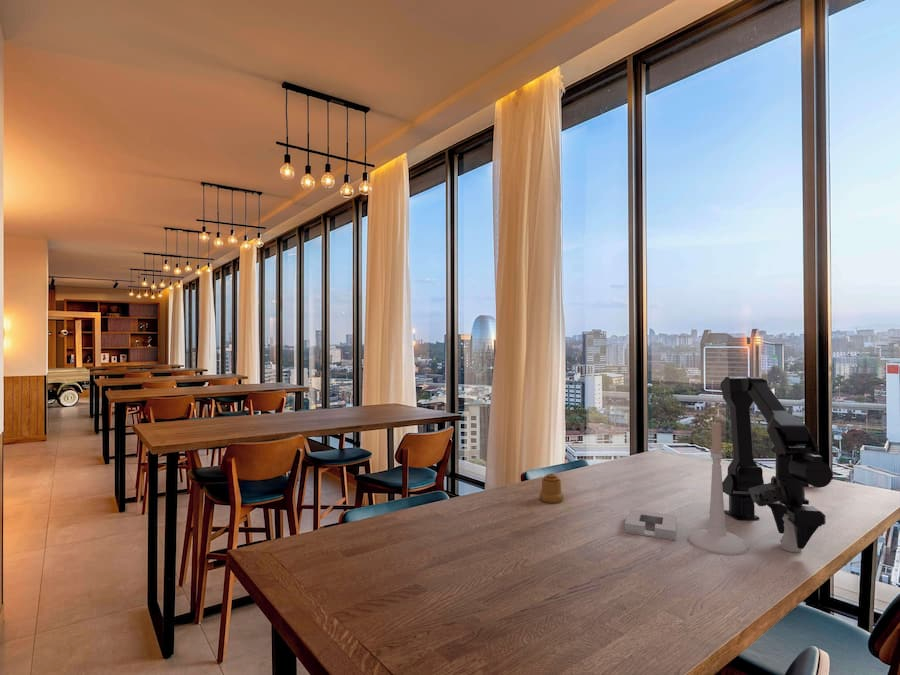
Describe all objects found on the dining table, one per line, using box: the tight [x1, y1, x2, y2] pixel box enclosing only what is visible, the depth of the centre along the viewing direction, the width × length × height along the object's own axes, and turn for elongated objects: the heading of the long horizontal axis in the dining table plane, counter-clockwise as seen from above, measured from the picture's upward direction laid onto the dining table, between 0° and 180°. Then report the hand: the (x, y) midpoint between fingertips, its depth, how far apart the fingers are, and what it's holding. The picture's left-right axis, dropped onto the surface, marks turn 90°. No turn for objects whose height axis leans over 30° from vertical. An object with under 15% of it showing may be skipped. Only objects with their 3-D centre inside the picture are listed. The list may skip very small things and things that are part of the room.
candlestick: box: [687, 421, 749, 556], centre depth 120 cm, size 13×13×30 cm
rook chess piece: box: [779, 514, 803, 553], centre depth 117 cm, size 4×4×8 cm
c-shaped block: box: [624, 508, 678, 541], centre depth 130 cm, size 12×12×2 cm
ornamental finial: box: [539, 473, 565, 504], centre depth 153 cm, size 8×8×8 cm
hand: (790, 540), depth 117 cm, fingers open, 9 cm apart
